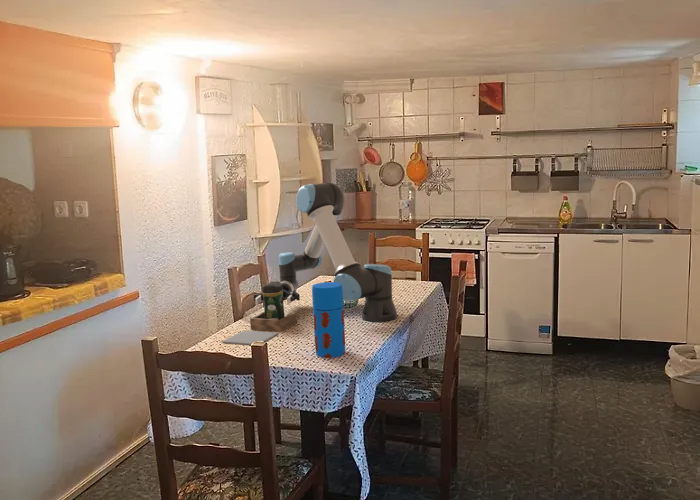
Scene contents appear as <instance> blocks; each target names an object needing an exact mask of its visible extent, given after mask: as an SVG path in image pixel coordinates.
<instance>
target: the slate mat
mask: <svg viewBox="0 0 700 500" xmlns="http://www.w3.org/2000/svg"><path fill="white" fill-rule="evenodd" d="M278 335H279V332H274V331H259V330H257V331H256V330H242V331H240V332H238V333H235V334H233V335H232V336H230V337H228V338H226V339H224V340H222V341H221V342H222V343H223V344H233V345H247V346H252V345H251V344H252V343H253V342H257V341H266V342H267V341H268V340H271V339H273V338H274V337H276V336H278Z"/></svg>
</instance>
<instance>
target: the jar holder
mask: <svg viewBox="0 0 700 500" xmlns="http://www.w3.org/2000/svg"><path fill="white" fill-rule="evenodd" d="M297 316H298V314H297V312H296V311H294V312H292V313H290V314H287V315H286V316H285V317H284V318H282V319H280V320H276V319H265V315H264V311H263V312H261V313H259V314H257V315H255V316H253V317H251V318H249V319H250V321H249V323H250V330H253V331H256V330H257V331H268V332H282V331H285V330H286V329H289V328H290V327H292V326H294V325H295V324H297V323H298V317H297Z"/></svg>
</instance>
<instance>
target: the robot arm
mask: <svg viewBox="0 0 700 500" xmlns="http://www.w3.org/2000/svg"><path fill="white" fill-rule="evenodd" d="M295 198H296V199H295V200H296V203H295V204H296V206H297V209H298V211H299V212H301V213H302V214H303V213H304V214H305V213H306V214H307V217H308V219H309V220H310V221H313V222H314V223H315V225H314V227H313V229H312V232H311V235H310V237H309V239H308V242H307V244H306V246H305V249H304V251H303V253H302V254H297V255H295V252H292V251H291V252H290V251H287V252H281V253H279V255H278V266H279V268H278V269H279V282H280V283H281V284H282V287H283V302H284V301H286V305H288V306H289V305H290V304H291V303H292V302H294V301H300V300H301V298H300V297H301V296H300V293H298V291H297V290H298V287H299V281H298V279H297V272H301V271H307V270H314V269H316V268H319V267H321V265H322V260H323V259H322V255H321V253H322V251H323V248H324V246H325V249H326V251H327V253H328V255H329V257H330V259H331V263H332V264H333V266H334V268H335V271H334V275H333V276H334V279H333V282H336V283H341V284H342V289H343V301H345V302H352V301H357V300H361V299H365V300H364V304H363V307H362V310H361V318H362V319H363V321H368V322H376V323H377V322H388V321H392V320H395V319H397V317H398V312H397V308H396V306H395V302H394V300H393V275H392V268H391V267H390V266H389V265H388V264H378V263H365V264H364V265H363V267H362V265H361V263H360V262H357V261H355V259H354V256H353V255H352V253H351V250H350V248H349V246H348V243H347V242H346V239H345V237H344V235H343V233H342V230H341V229H340V227H339V224H338V222H337V217H338V216H340V215H341V214H342V212H343V209H344V206H345V202H346V201H345V194H344V192H343V190H342V188H341V187H340V186H339V185H338V184H336V183H334V182H324V183H323V182H322V183H314V184H313V183H309V184H304V185H302V186H301V187H300V188H299V189H298V191H297V193H296V197H295ZM253 301H254V303H255V306H258V305H260V303H262V302H263V301H264V299H263V291H262V292H260V293H255V294H253Z"/></svg>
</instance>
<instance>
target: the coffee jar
mask: <svg viewBox="0 0 700 500" xmlns="http://www.w3.org/2000/svg"><path fill="white" fill-rule="evenodd" d="M261 289H262V292H263V299H264V300H263V310H264V311H263V312H264V315H265V319H276V320H280V319H282V318H284V317H286V316H285V307H284V306H285V305H284V301H283V287H282V284H281V283H280V281H269V282H268V283H266V284H265V285H263V286H262V288H261Z"/></svg>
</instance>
